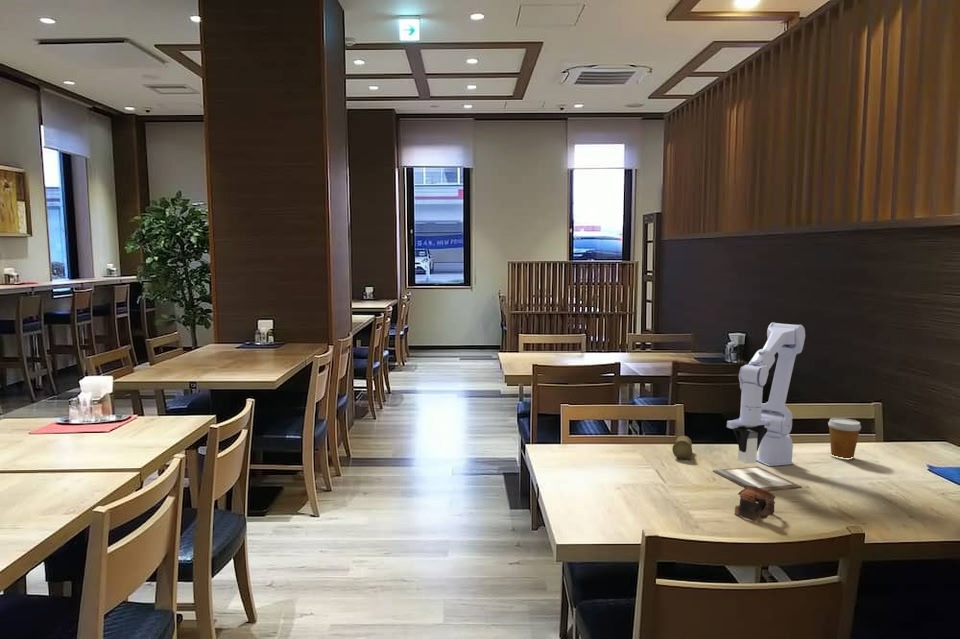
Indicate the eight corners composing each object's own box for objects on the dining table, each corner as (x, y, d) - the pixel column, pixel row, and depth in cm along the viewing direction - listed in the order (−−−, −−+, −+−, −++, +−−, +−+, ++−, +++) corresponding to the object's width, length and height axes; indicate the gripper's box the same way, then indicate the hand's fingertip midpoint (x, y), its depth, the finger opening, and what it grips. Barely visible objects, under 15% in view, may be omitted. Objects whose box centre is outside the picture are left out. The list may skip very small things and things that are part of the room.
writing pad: (757, 467, 202) (757, 464, 201) (801, 487, 184) (801, 484, 184) (712, 471, 197) (712, 468, 197) (753, 492, 180) (753, 489, 180)
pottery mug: (723, 511, 167) (734, 481, 169) (754, 526, 168) (764, 496, 170) (753, 517, 156) (764, 485, 158) (786, 534, 157) (796, 501, 159)
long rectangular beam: (748, 459, 198) (749, 429, 197) (756, 462, 194) (758, 432, 194) (737, 459, 197) (739, 430, 196) (745, 463, 193) (747, 433, 193)
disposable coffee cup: (865, 462, 209) (867, 425, 208) (835, 461, 210) (837, 424, 208) (848, 453, 219) (851, 417, 218) (820, 452, 219) (822, 417, 218)
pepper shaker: (690, 461, 208) (691, 453, 218) (694, 443, 207) (695, 436, 217) (670, 456, 210) (672, 448, 220) (674, 438, 209) (676, 431, 219)
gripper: (762, 401, 200) (759, 445, 201) (721, 403, 196) (718, 448, 197) (779, 407, 193) (776, 452, 194) (736, 409, 189) (734, 455, 190)
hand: (748, 450), depth 195 cm, fingers closed on long rectangular beam, 4 cm apart
